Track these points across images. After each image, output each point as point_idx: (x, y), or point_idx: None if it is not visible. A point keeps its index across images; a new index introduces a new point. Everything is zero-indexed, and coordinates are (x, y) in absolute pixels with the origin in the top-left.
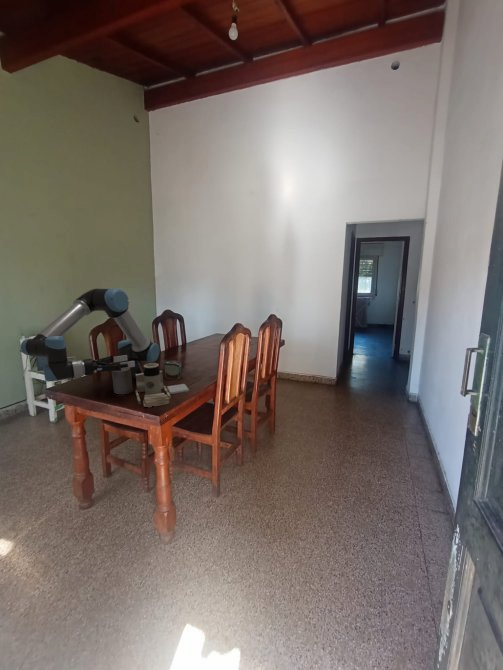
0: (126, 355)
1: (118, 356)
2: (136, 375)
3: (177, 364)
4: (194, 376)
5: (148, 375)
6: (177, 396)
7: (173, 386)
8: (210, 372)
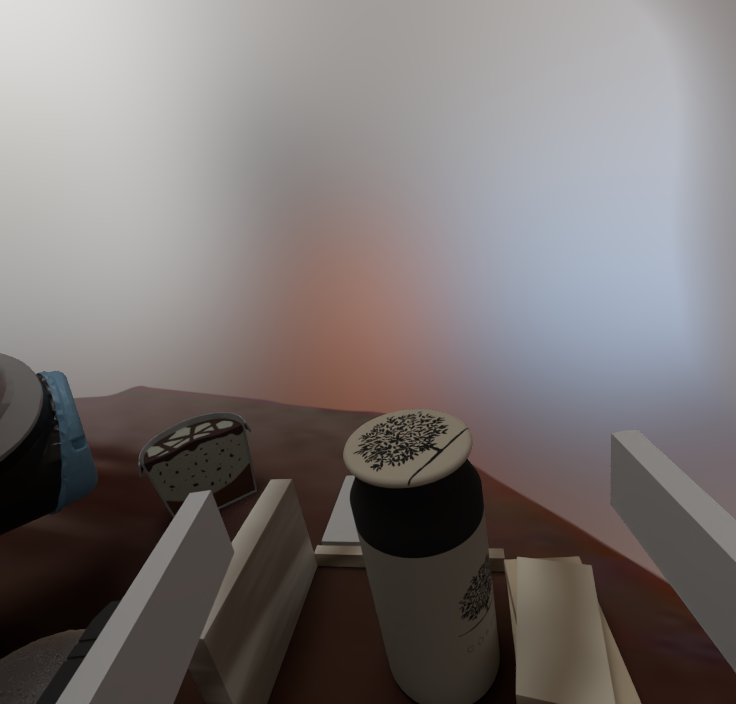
0: (207, 498)
1: (141, 603)
2: (207, 635)
3: (224, 426)
4: (275, 443)
5: (472, 524)
6: None
7: (345, 516)
8: (284, 407)
